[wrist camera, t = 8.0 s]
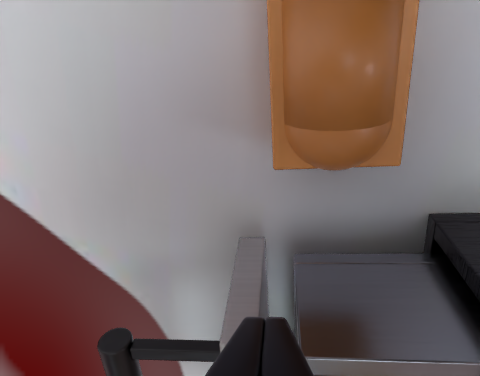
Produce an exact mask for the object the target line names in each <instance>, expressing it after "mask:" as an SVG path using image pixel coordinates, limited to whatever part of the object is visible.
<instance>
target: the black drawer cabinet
mask: <svg viewBox="0 0 480 376" xmlns="http://www.w3.org/2000/svg"><path fill="white" fill-rule="evenodd" d="M423 253H445V254H446V255H447V257H448V258H449V259H450V261H451V262H452V263H453V265H454V266H455V268H456V269H457V270H458V272H459V273H460V275H461V276H462V277H463V279H464V280H465V282H466V283H467V284H468V286H469V287H470V289H471V290H472V291H473V293H474V294H475V295H476V297H477V298H478V300H479V301H480V213H464V214H429V220H428V226H427V232H426V239H425V245H424V251H423Z"/></svg>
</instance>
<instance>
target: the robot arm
mask: <svg viewBox="0 0 480 376" xmlns="http://www.w3.org/2000/svg"><path fill="white" fill-rule="evenodd" d="M205 376H314V375H313V373H312V371H311V369H310V366H309V364H308V362H307V360H306V358H305V356H304V354H303V352H302V350H301V348H300V346H299V344H298V342H297V340H296V338H295V336H294V334H293V332H292V330H291V328H290V326H289V324H288V322H287V320H286V319H285V318H284V317H267V318H266V319H264V318H263V317H249V316H248V317H245V318H244V319H243V320H242V322H241V323H240V325H239V326H238V328H237V329H236V331H235V332H234V334H233V335H232V336H231V338H230V339H229V341H228V342H227V344H226V345H225V347H224V348H223V350H222V351H221V353H220V354H219V356H218V357H217V359H216V360H215V362H214V363H213V365H212V366H211V367H210V369H209V370H208V372H207V373H206V375H205Z"/></svg>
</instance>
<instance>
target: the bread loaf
mask: <svg viewBox="0 0 480 376" xmlns="http://www.w3.org/2000/svg"><path fill="white" fill-rule="evenodd" d="M418 8H419V0H267V18H268V44H269V70H270V96H271V122H272V148H273V168H274V169H275V170H283V169H315V168H320V169H323V170H334V171H336V170H345V169H349V168H352V167H379V166H400V164H401V157H402V148H403V140H404V131H405V122H406V113H407V105H408V96H409V87H410V78H411V70H412V61H413V52H414V43H415V35H416V26H417V17H418Z"/></svg>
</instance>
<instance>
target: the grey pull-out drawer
mask: <svg viewBox="0 0 480 376" xmlns="http://www.w3.org/2000/svg"><path fill="white" fill-rule="evenodd" d="M294 310H295V338H296V340H297V342H298V344H299V346H300V348H301V350H302V352H303V354H304V356H305V358H306V360H307V362H308V364H309V366H310V369H311V371H312V373H313V375H314V376H480V301H479V300H478V298H477V297H476V295H475V294H474V293H473V291H472V290H471V289H470V287H469V286H468V284H467V283H466V282H465V280H464V279H463V277H462V276H461V275H460V273H459V272H458V270H457V269H456V268H455V266H454V265H453V263H452V262H451V261H450V259H449V258H448V257H447V255H446V254H445V253H378V254H294ZM248 316H249V317H263V318H264V319H266V318H267V317H269V305H268V286H267V268H266V249H265V238H264V237H245V238H240V239H239V244H238V249H237V254H236V259H235V265H234V270H233V275H232V281H231V286H230V291H229V296H228V302H227V307H226V312H225V318H224V323H223V328H222V334H221V339H220V341H207V340H169V339H134V340H133V337H132V334H131V332H130V331H129V330H128V329H126V328H115V329H112V330H110V331H108V332H106V333H105V334H104V335H103V336H102V337H101V338H100V340H99V342H98V346H97V347H98V351H99V354H100V358H101V361H102V363H103V367H104V370H105V373H106V376H143V375H142V371H141V367H140V364H139V360H138V359H140V360H171V361H200V362H215V360H216V359H217V357H218V356H219V354H220V353H221V351H222V350H223V348H224V347H225V345H226V344H227V342H228V341H229V339H230V338H231V336H232V335H233V334H234V332H235V331H236V329H237V328H238V326H239V325H240V323H241V322H242V320H243V319H244V318H245V317H248Z"/></svg>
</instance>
